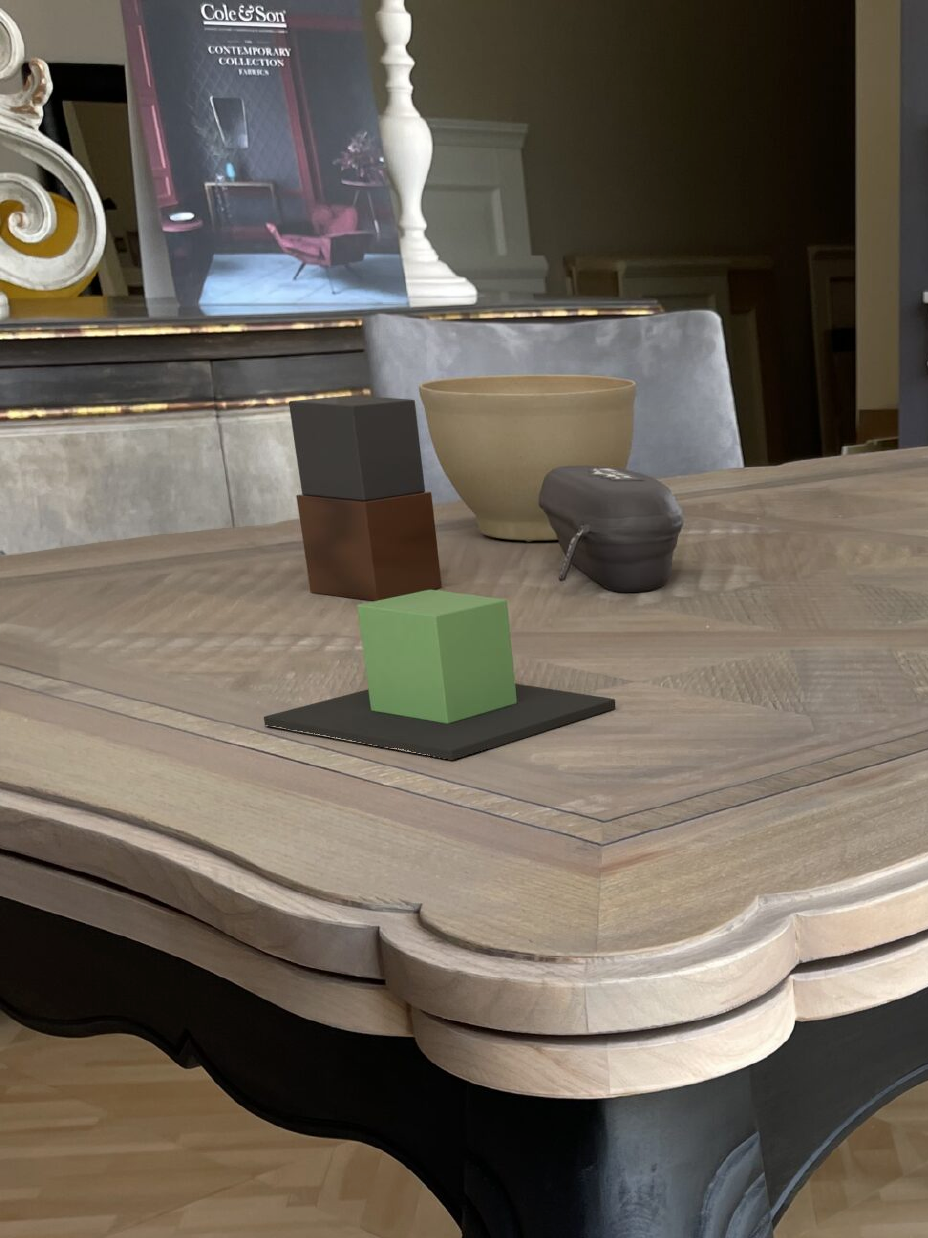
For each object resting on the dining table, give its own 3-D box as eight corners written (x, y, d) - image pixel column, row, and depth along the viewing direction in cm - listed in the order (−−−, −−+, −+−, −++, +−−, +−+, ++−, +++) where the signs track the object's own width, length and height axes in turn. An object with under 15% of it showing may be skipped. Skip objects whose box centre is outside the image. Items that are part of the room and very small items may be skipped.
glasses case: (733, 575, 120) (688, 460, 115) (593, 644, 118) (542, 530, 114) (655, 534, 134) (612, 429, 129) (529, 595, 132) (481, 491, 128)
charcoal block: (301, 494, 115) (287, 401, 113) (363, 485, 120) (352, 395, 117) (364, 501, 113) (352, 405, 110) (425, 492, 117) (415, 399, 114)
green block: (370, 711, 88) (356, 604, 85) (442, 691, 92) (430, 589, 89) (447, 724, 86) (435, 615, 83) (517, 703, 89) (507, 599, 87)
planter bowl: (418, 525, 145) (401, 376, 139) (614, 515, 150) (604, 372, 145) (457, 555, 132) (439, 392, 127) (669, 543, 138) (660, 388, 132)
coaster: (264, 726, 87) (262, 716, 87) (437, 680, 96) (436, 670, 96) (452, 761, 82) (451, 750, 82) (616, 708, 91) (615, 698, 91)
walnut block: (310, 592, 118) (295, 495, 115) (376, 579, 123) (363, 485, 120) (377, 601, 116) (364, 502, 113) (442, 588, 120) (431, 491, 117)
